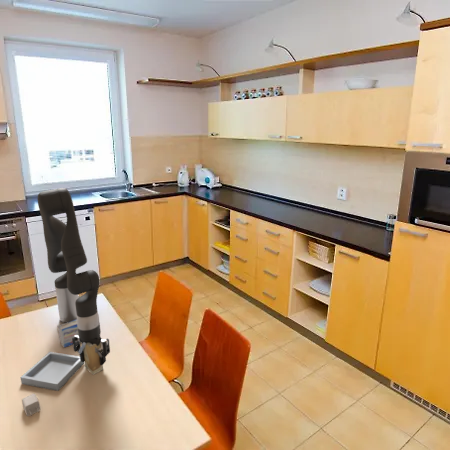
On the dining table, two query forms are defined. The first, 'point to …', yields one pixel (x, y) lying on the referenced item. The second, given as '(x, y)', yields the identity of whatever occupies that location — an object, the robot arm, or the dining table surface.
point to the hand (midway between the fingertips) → (93, 362)
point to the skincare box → (92, 358)
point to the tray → (52, 371)
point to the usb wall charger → (31, 404)
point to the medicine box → (68, 333)
